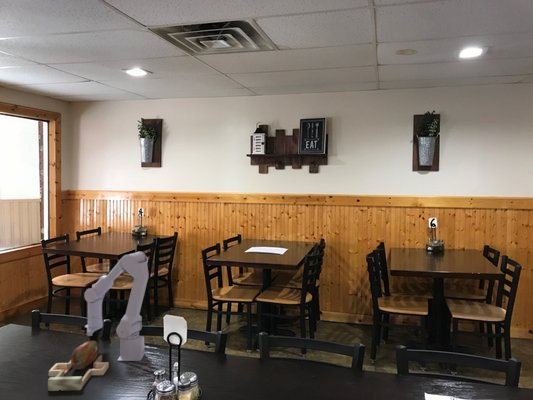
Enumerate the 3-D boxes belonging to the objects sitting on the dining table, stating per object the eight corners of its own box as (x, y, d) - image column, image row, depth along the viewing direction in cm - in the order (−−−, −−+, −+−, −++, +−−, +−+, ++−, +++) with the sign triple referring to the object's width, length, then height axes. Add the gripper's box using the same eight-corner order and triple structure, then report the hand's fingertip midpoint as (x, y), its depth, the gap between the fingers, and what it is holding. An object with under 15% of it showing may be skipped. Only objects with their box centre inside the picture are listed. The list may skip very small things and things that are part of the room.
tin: (76, 373, 165) (76, 351, 165) (69, 372, 166) (69, 350, 166) (99, 357, 180) (99, 337, 180) (92, 356, 181) (92, 337, 180)
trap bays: (108, 367, 171) (108, 362, 171) (103, 375, 164) (103, 369, 164) (56, 368, 169) (56, 363, 169) (48, 376, 162) (48, 371, 162)
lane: (102, 360, 177) (102, 350, 177) (80, 390, 152) (80, 378, 152) (74, 360, 177) (74, 350, 176) (47, 390, 151) (47, 379, 151)
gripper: (90, 310, 192) (91, 340, 192) (79, 320, 177) (79, 353, 178) (107, 310, 192) (107, 340, 193) (96, 320, 178) (97, 353, 178)
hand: (95, 346), depth 185 cm, fingers closed
